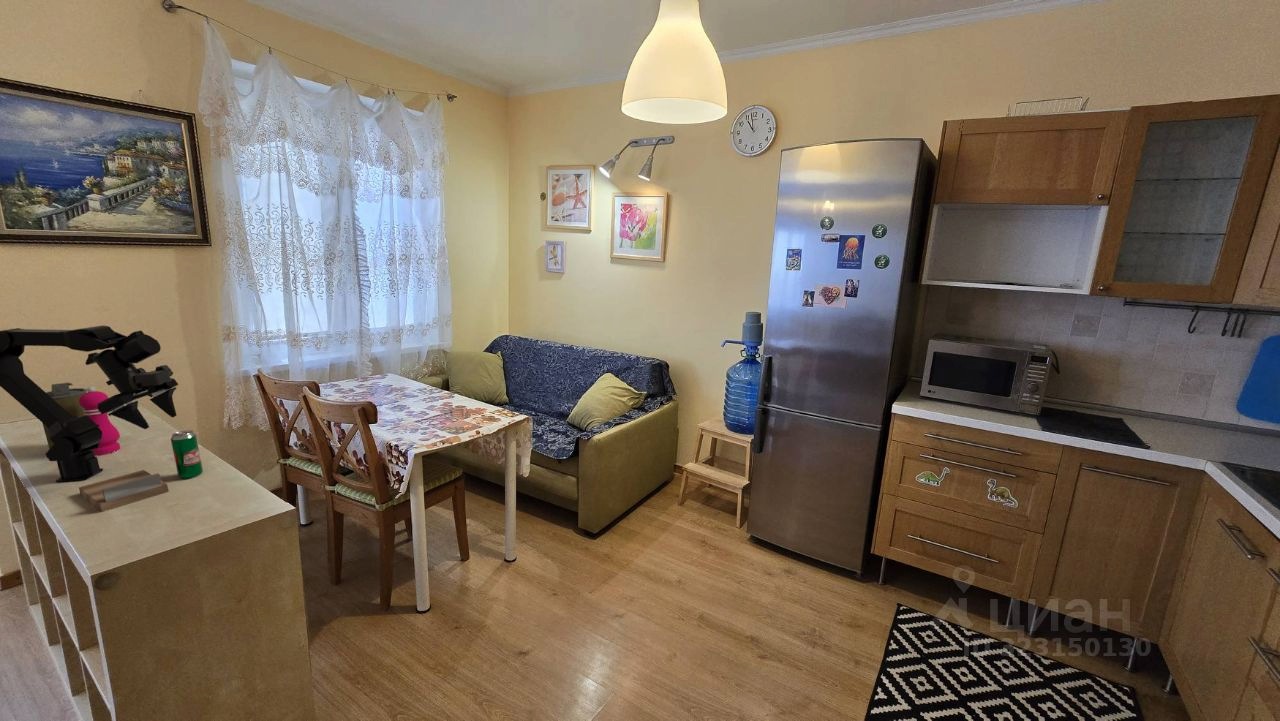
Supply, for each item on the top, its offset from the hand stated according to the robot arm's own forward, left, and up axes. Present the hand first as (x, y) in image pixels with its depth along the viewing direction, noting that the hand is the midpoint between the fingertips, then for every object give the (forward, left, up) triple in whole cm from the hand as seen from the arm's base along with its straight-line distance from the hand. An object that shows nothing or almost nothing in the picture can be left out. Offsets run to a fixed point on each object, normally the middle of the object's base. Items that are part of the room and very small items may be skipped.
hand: (161, 422), depth 137 cm
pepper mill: (-28, +22, -15) cm, 38 cm away
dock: (-4, -11, -14) cm, 19 cm away
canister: (-39, +27, -15) cm, 50 cm away
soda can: (+6, -3, -15) cm, 16 cm away
